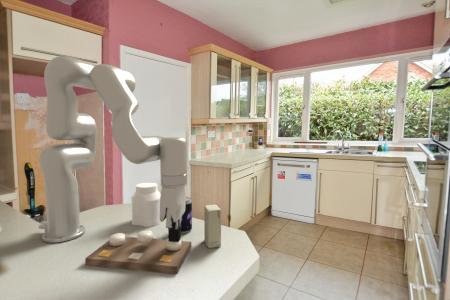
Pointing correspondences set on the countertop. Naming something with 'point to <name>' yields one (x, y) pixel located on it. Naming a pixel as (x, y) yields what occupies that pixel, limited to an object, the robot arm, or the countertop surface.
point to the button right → (173, 245)
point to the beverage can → (187, 217)
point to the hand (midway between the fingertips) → (174, 240)
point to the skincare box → (212, 226)
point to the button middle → (145, 236)
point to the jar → (146, 205)
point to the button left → (117, 239)
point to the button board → (140, 256)
